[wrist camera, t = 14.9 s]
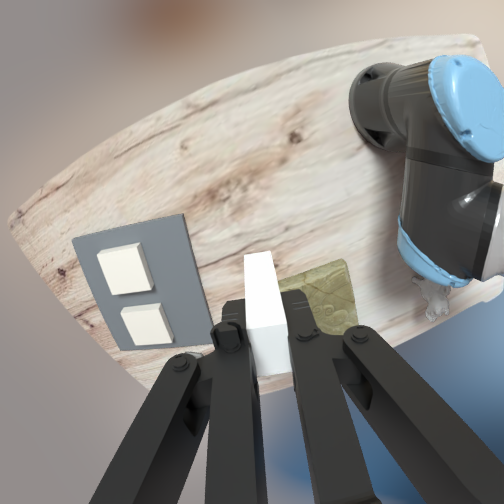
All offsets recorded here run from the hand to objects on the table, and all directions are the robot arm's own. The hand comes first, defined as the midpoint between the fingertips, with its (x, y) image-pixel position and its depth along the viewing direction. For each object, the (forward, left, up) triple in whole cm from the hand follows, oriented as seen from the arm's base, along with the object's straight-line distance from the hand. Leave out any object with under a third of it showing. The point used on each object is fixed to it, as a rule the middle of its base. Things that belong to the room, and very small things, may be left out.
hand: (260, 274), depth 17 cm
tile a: (+19, +10, -27) cm, 35 cm away
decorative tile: (-7, +27, -30) cm, 41 cm away
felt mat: (+22, +16, -29) cm, 40 cm away
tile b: (+19, +22, -27) cm, 40 cm away
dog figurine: (-33, +22, -30) cm, 50 cm away
